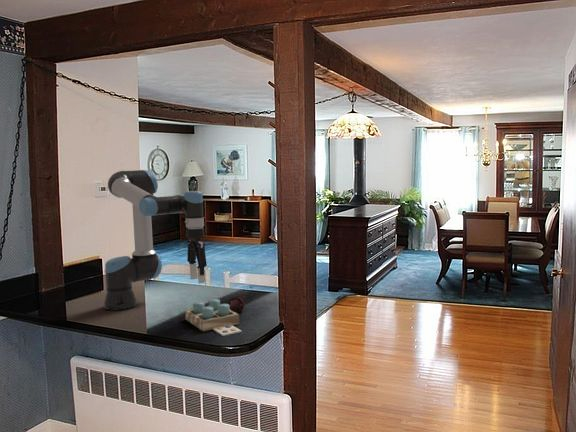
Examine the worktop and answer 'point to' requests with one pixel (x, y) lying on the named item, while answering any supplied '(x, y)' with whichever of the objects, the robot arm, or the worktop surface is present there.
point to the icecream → (236, 303)
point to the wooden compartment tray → (211, 320)
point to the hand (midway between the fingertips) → (197, 280)
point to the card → (226, 330)
